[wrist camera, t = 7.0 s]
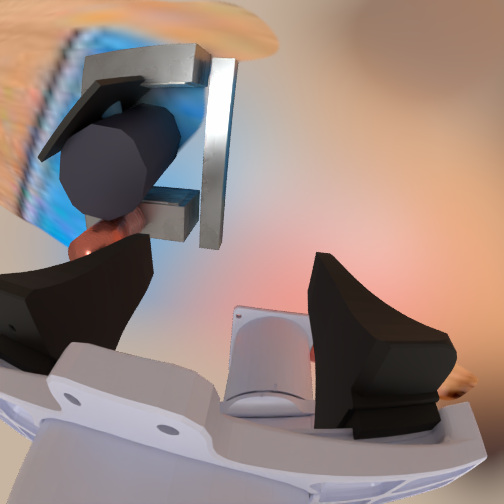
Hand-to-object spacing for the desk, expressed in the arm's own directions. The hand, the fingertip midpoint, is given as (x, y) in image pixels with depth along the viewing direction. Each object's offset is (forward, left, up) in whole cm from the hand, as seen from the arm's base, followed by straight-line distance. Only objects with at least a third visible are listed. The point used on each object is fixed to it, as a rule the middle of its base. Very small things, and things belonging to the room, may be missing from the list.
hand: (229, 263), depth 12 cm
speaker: (+4, +8, -11) cm, 14 cm away
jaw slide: (-1, +8, -10) cm, 13 cm away
